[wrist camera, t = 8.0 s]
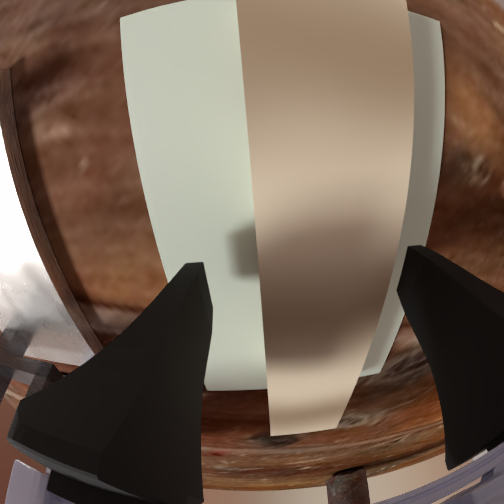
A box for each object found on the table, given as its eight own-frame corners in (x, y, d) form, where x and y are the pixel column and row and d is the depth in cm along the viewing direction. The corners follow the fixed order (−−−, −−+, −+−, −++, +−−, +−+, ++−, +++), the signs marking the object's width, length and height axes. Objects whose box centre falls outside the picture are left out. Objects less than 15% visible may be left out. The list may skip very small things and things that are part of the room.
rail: (325, 377, 15) (336, 427, 12) (267, 383, 15) (270, 435, 12) (349, 6, 6) (400, -27, 3) (237, 2, 6) (231, -46, 3)
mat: (377, 365, 16) (379, 372, 15) (208, 382, 16) (207, 390, 16) (431, 23, 6) (439, 21, 5) (126, 21, 6) (120, 18, 6)
